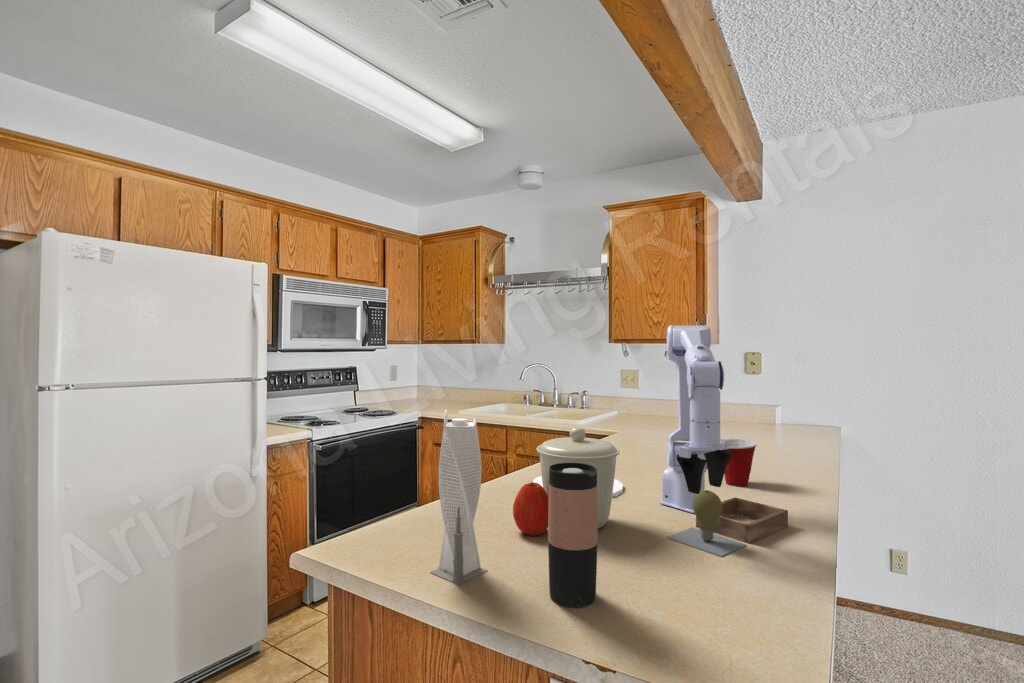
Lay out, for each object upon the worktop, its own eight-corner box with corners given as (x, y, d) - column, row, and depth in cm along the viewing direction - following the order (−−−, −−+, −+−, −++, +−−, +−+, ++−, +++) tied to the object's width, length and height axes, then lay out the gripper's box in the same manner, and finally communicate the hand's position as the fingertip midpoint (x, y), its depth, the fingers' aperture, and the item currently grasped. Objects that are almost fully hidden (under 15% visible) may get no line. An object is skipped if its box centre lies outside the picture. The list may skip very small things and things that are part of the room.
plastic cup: (707, 480, 151) (707, 438, 151) (739, 477, 153) (739, 437, 153) (731, 490, 140) (731, 445, 140) (765, 487, 143) (765, 444, 143)
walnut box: (696, 526, 112) (696, 510, 112) (735, 512, 122) (735, 497, 122) (750, 543, 102) (750, 526, 102) (787, 526, 112) (787, 510, 112)
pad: (666, 537, 106) (666, 536, 106) (692, 528, 111) (692, 527, 111) (721, 557, 96) (721, 555, 96) (746, 545, 102) (746, 544, 102)
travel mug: (544, 585, 84) (544, 462, 84) (590, 584, 85) (591, 461, 85) (552, 609, 77) (552, 474, 77) (603, 607, 77) (603, 473, 77)
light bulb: (724, 547, 100) (724, 495, 100) (693, 545, 101) (693, 493, 101) (720, 537, 105) (720, 488, 105) (691, 534, 107) (691, 486, 107)
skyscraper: (424, 572, 90) (425, 410, 90) (458, 557, 96) (458, 406, 96) (458, 587, 85) (459, 415, 85) (492, 570, 91) (492, 410, 91)
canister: (624, 515, 119) (624, 423, 119) (613, 543, 102) (613, 436, 102) (548, 507, 125) (548, 419, 125) (525, 532, 108) (526, 431, 108)
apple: (520, 523, 114) (520, 474, 114) (556, 527, 111) (556, 477, 111) (507, 536, 106) (507, 484, 106) (546, 541, 103) (546, 487, 103)
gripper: (702, 427, 96) (702, 500, 96) (742, 420, 105) (742, 487, 105) (670, 422, 102) (669, 491, 102) (710, 416, 111) (710, 480, 111)
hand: (704, 489), depth 104 cm, fingers open, 7 cm apart
